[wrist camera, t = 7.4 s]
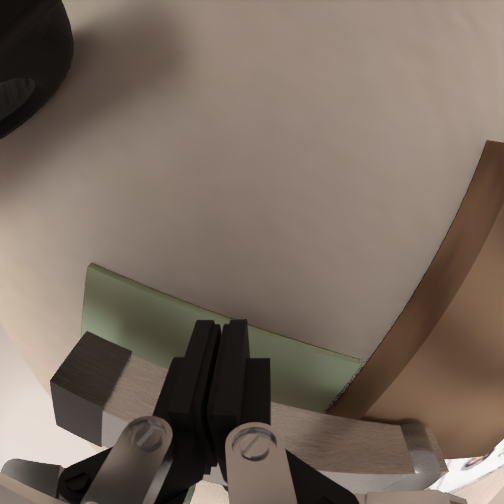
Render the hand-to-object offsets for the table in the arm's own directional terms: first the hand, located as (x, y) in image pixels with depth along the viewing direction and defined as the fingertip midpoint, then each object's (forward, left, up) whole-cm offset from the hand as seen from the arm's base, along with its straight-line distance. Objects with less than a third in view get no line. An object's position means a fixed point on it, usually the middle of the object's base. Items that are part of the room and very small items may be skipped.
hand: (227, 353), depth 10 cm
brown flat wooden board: (-3, +8, -3) cm, 9 cm away
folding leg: (+3, +3, 0) cm, 5 cm away
